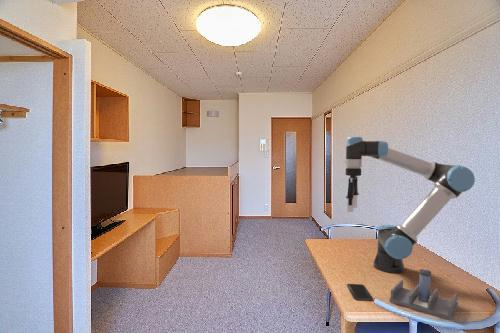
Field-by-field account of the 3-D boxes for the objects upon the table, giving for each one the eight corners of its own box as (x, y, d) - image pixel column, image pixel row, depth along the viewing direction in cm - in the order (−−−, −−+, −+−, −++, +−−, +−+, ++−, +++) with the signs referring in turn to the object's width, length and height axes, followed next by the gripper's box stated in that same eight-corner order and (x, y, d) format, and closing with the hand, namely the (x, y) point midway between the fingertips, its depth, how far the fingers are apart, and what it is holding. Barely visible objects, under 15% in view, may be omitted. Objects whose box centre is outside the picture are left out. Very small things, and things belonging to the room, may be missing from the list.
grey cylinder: (419, 296, 134) (420, 268, 133) (430, 299, 131) (432, 271, 131) (417, 300, 131) (418, 271, 130) (428, 303, 128) (429, 274, 128)
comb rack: (399, 290, 144) (400, 279, 144) (457, 306, 130) (458, 293, 130) (389, 301, 132) (389, 290, 132) (451, 320, 118) (452, 307, 118)
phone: (354, 298, 134) (346, 283, 149) (354, 300, 134) (346, 286, 149) (374, 299, 133) (363, 284, 148) (373, 301, 133) (363, 286, 148)
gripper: (349, 166, 174) (348, 205, 175) (341, 168, 151) (340, 213, 152) (364, 167, 171) (362, 206, 172) (358, 169, 148) (356, 214, 149)
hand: (352, 209), depth 162 cm, fingers open, 13 cm apart
